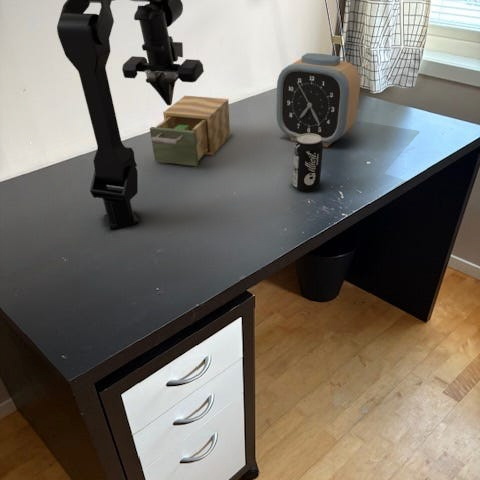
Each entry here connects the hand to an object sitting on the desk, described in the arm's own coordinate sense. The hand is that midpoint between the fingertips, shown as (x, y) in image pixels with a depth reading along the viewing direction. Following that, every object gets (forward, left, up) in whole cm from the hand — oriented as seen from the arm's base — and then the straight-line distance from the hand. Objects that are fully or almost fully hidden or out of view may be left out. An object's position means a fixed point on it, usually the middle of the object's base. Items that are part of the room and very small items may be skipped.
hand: (169, 104), depth 118 cm
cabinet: (+12, -11, -16) cm, 22 cm away
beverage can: (-27, -24, -16) cm, 40 cm away
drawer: (+2, -2, -15) cm, 15 cm away
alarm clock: (-2, -41, -16) cm, 44 cm away
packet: (+3, -3, -14) cm, 14 cm away
